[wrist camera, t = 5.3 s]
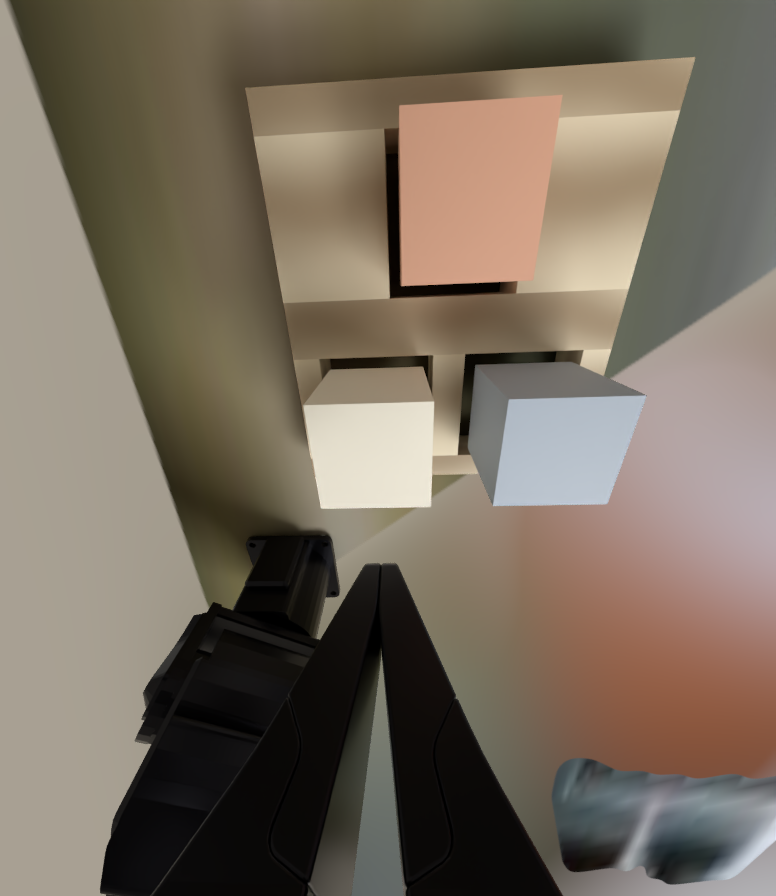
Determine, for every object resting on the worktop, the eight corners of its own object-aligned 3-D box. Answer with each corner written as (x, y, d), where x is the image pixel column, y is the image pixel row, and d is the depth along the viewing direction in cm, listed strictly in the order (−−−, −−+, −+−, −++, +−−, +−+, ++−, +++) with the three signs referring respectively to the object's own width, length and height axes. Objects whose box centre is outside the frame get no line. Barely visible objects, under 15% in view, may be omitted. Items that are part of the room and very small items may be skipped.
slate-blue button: (551, 445, 17) (607, 503, 12) (467, 448, 17) (493, 505, 13) (571, 361, 15) (646, 395, 10) (475, 364, 15) (508, 399, 10)
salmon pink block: (492, 281, 15) (533, 280, 11) (400, 284, 15) (401, 286, 11) (505, 158, 13) (562, 94, 9) (397, 165, 13) (399, 105, 9)
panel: (555, 450, 20) (575, 471, 18) (322, 456, 20) (314, 477, 18) (642, 97, 12) (695, 57, 10) (270, 121, 13) (245, 87, 11)
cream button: (421, 448, 17) (430, 507, 13) (340, 450, 17) (321, 508, 13) (422, 366, 15) (434, 401, 11) (330, 369, 15) (302, 405, 11)
